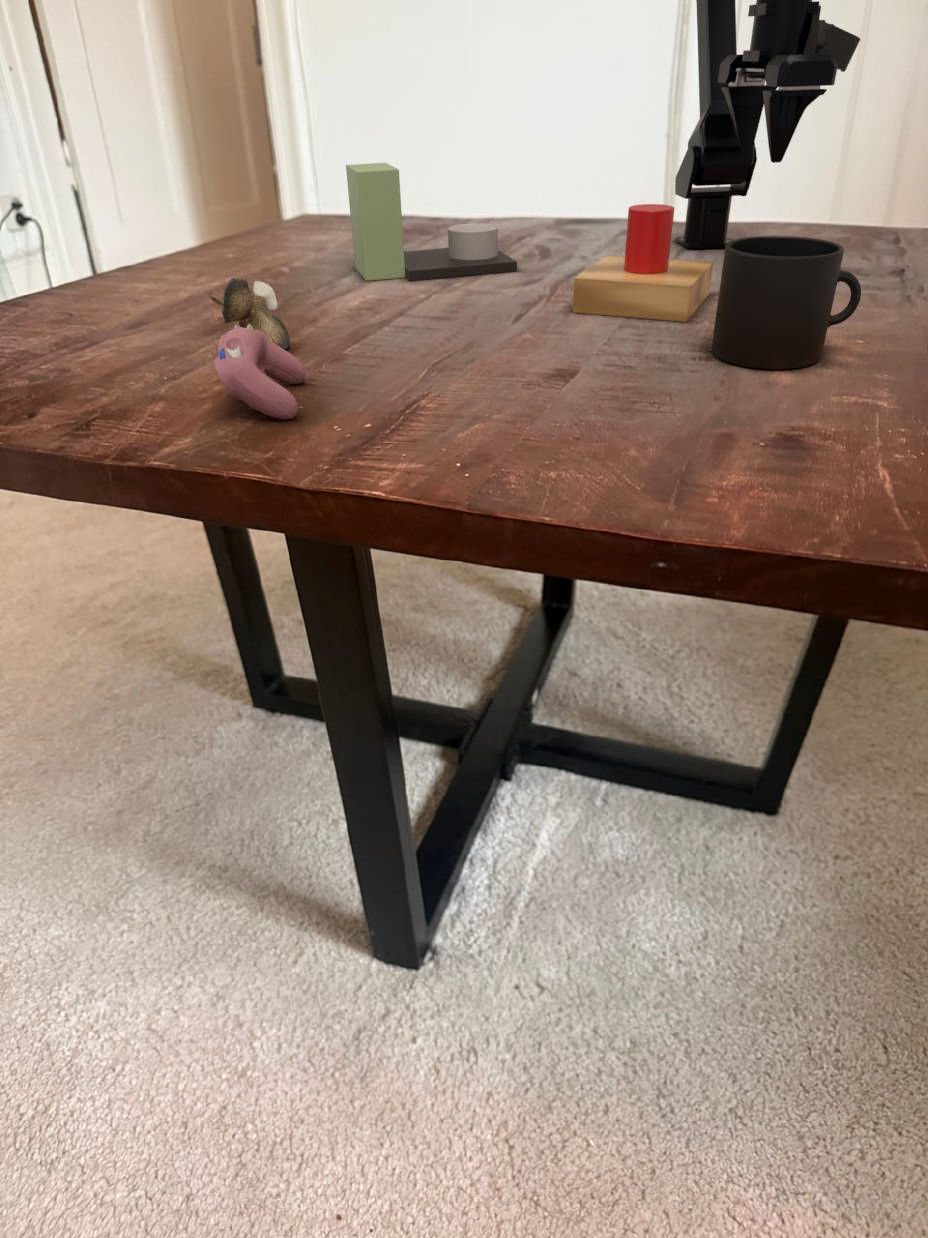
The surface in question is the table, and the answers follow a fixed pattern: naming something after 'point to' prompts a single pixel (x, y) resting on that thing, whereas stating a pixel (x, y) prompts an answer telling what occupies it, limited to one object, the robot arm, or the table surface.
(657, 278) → the block
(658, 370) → the table surface
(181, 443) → the table surface
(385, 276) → the coffee maker
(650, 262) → the cylinder
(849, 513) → the table surface
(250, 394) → the video game controller
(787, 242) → the mug
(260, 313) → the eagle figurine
